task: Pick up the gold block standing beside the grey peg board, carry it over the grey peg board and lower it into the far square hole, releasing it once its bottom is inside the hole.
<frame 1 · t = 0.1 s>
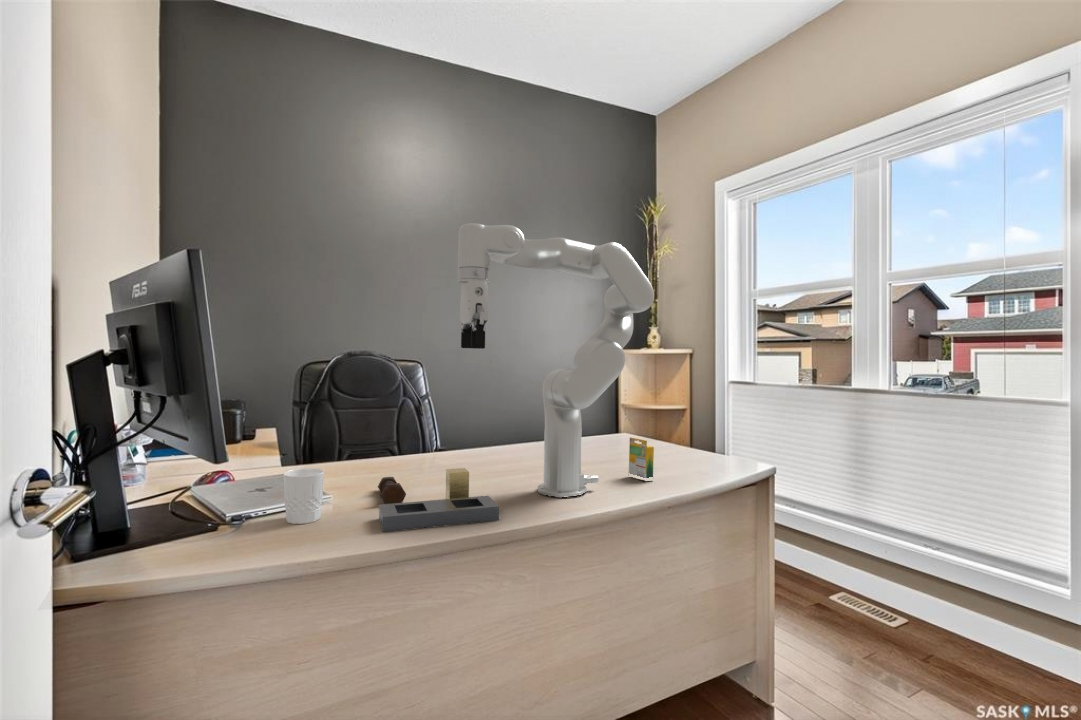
hand: (472, 348, 132), 37 cm above the table, tool pointing down, fingers open, 9 cm apart
gold block: (456, 504, 129), on the table
crayon box: (640, 479, 157), on the table
grey peg board: (439, 519, 117), on the table
white cup: (303, 520, 116), on the table
bolt: (390, 499, 134), on the table
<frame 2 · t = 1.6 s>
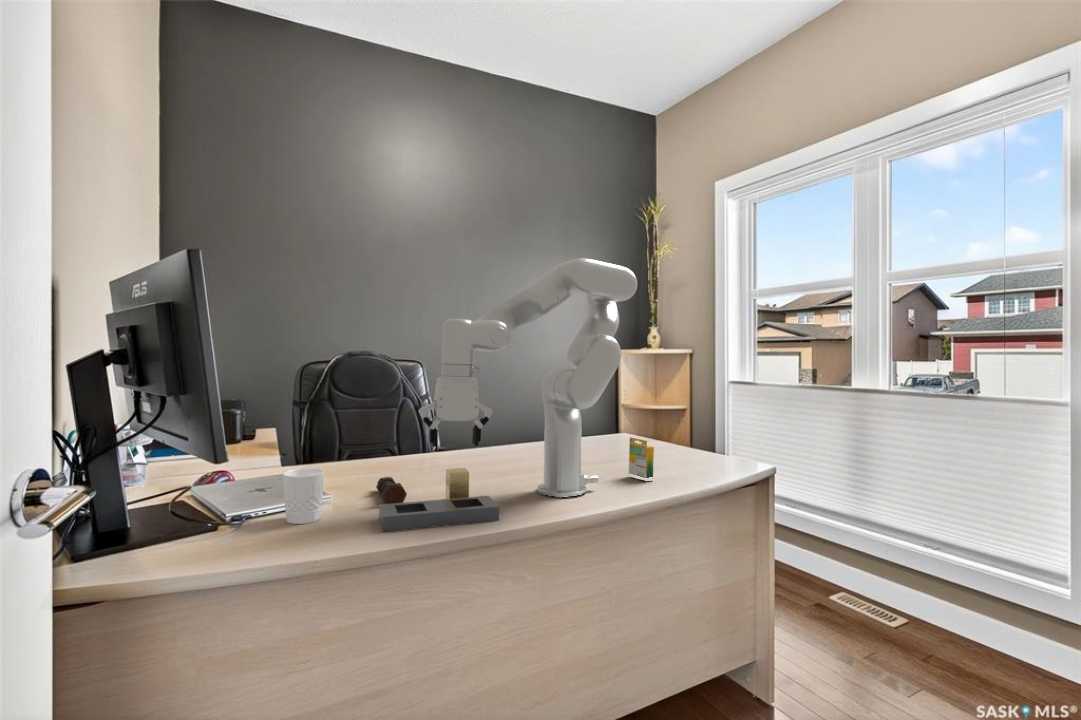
hand: (455, 445, 128), 14 cm above the table, tool pointing down, fingers open, 9 cm apart
nothing on the table moved.
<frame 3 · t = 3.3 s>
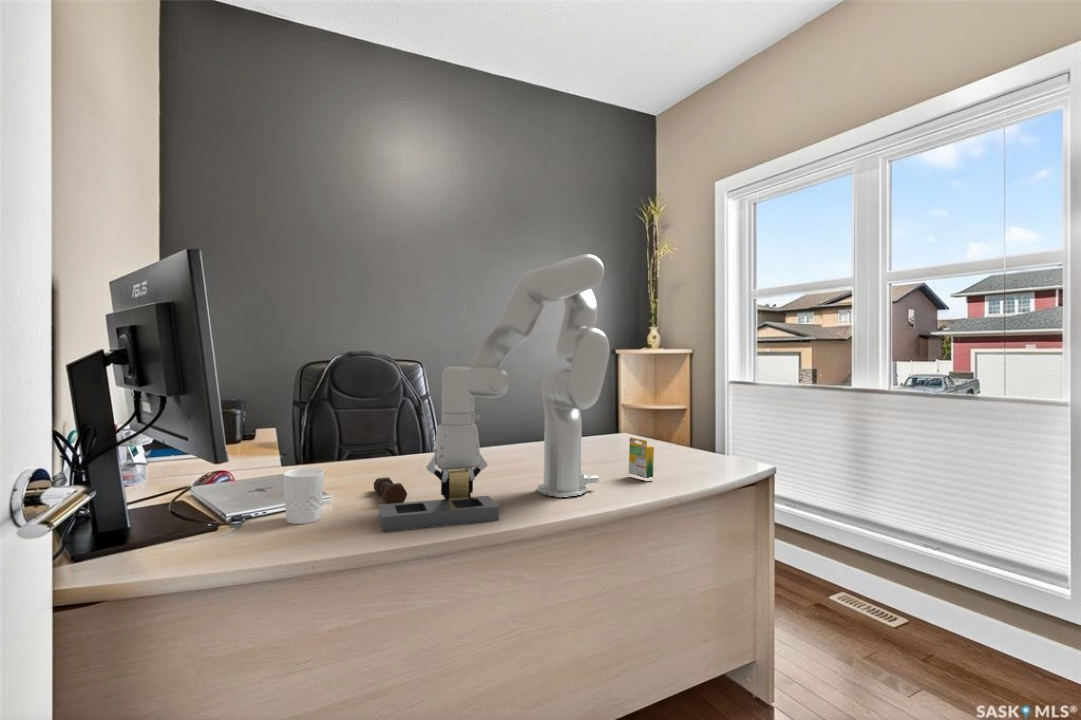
hand: (456, 496, 129), 2 cm above the table, tool pointing down, fingers closed on gold block, 4 cm apart
gold block: (456, 504, 129), on the table, touching gripper
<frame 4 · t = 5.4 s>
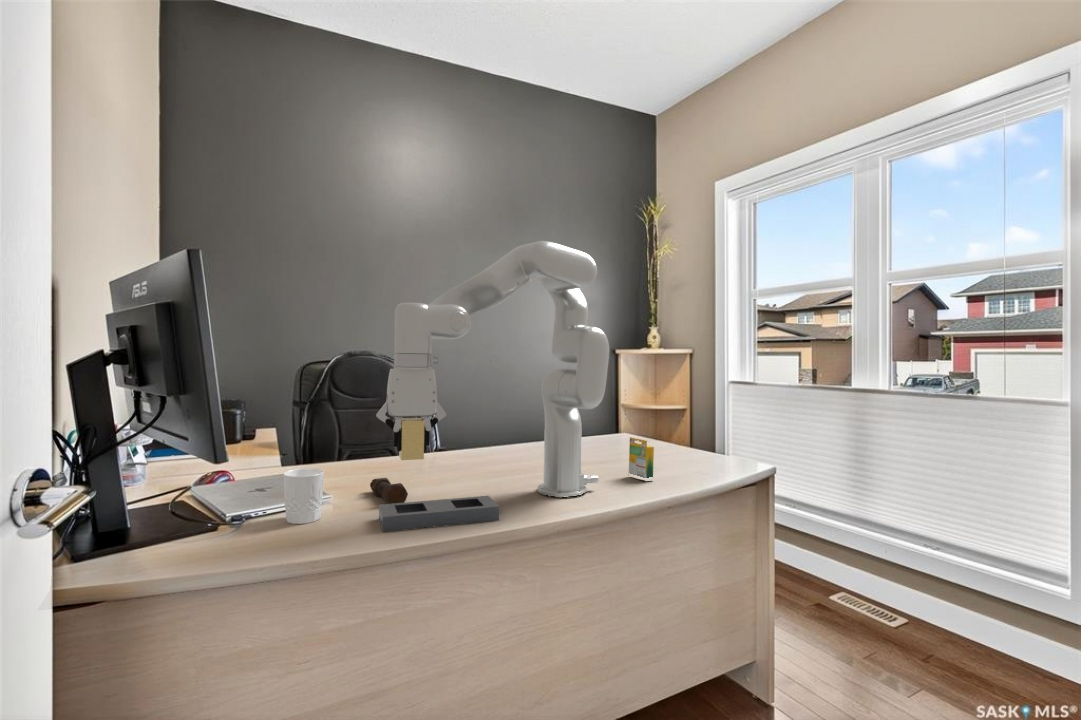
hand: (411, 448, 115), 15 cm above the table, tool pointing down, fingers closed on gold block, 4 cm apart
gold block: (411, 457, 115), point 14 cm above the table, touching gripper
when the fingers open (4 cm above the table, at t = 7.5 s): gold block drops 2 cm, resting in grey peg board.
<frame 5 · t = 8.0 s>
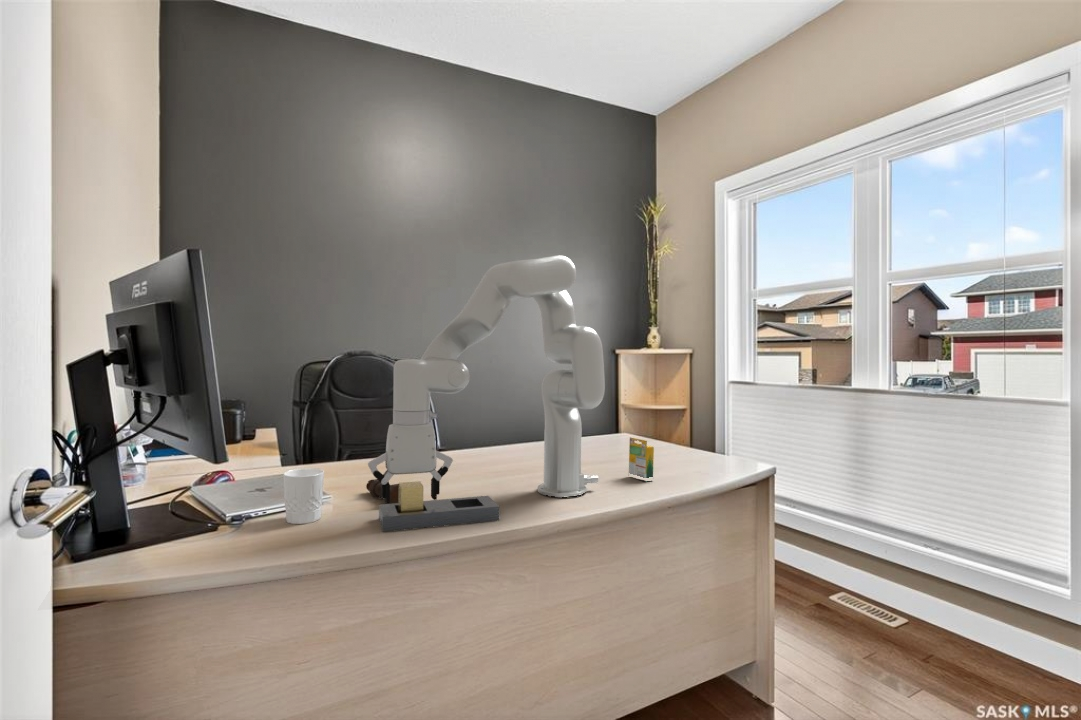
hand: (410, 500, 115), 5 cm above the table, tool pointing down, fingers open, 9 cm apart
gold block: (410, 522, 115), resting in grey peg board
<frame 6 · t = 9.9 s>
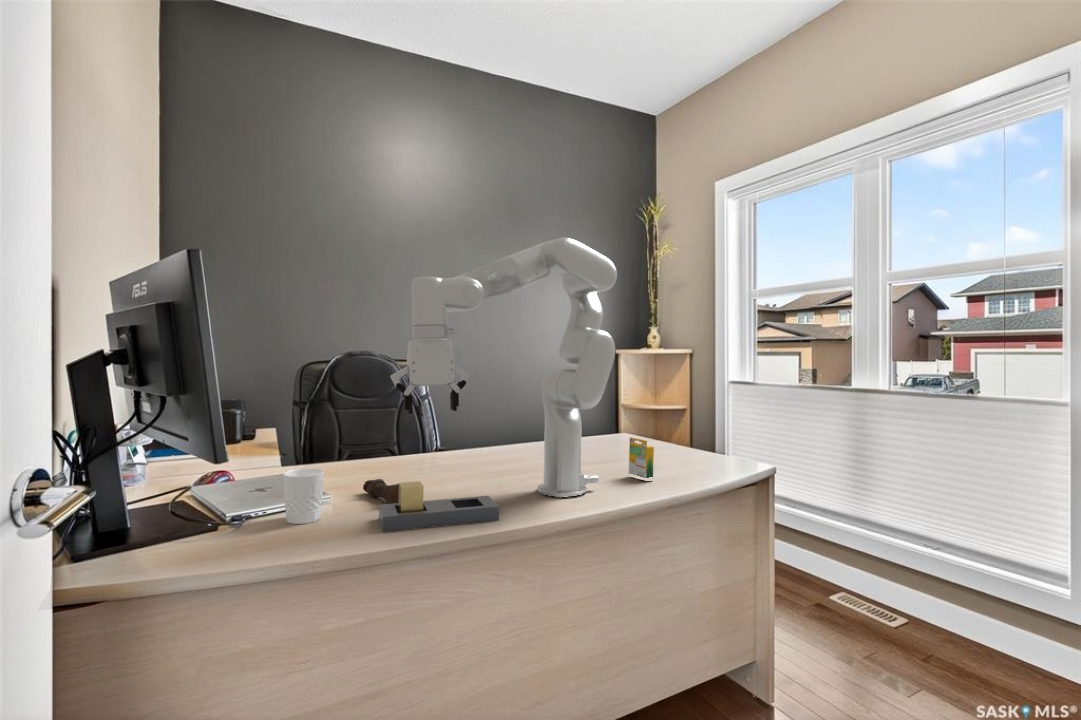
hand: (432, 411, 121), 23 cm above the table, tool pointing down, fingers open, 9 cm apart
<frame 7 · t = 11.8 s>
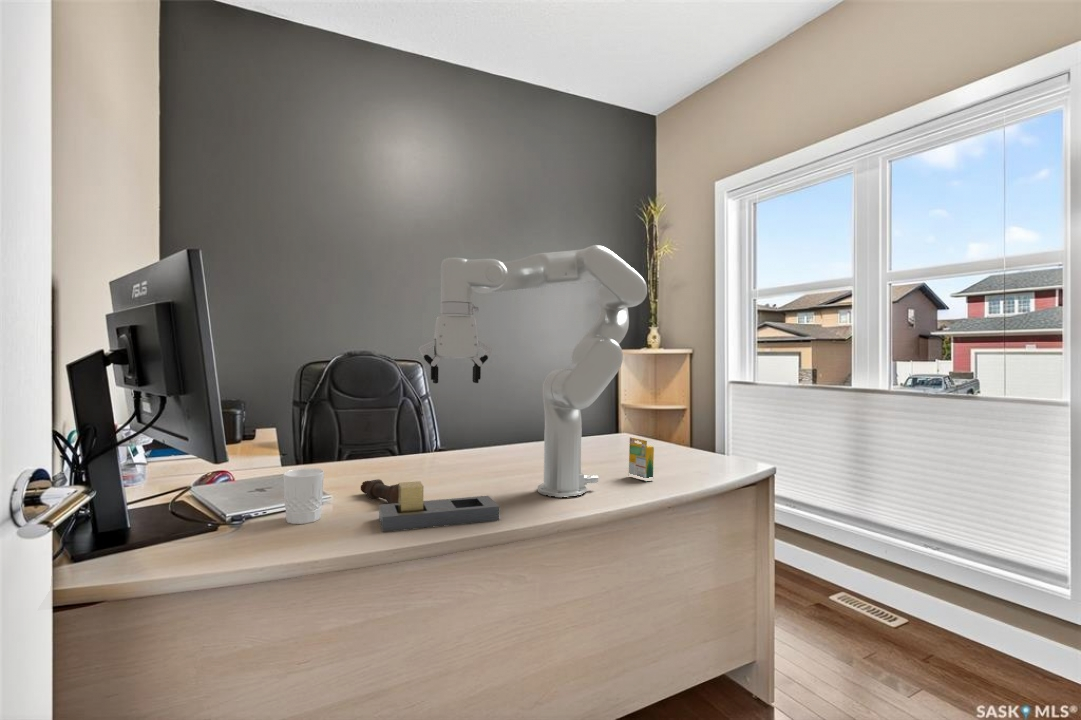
hand: (455, 382, 131), 28 cm above the table, tool pointing down, fingers open, 9 cm apart
at the end: gold block 0.1 cm from the target spot on the grey peg board, point 0.0 cm above the grey peg board's base; gold block tilted 0°; the gripper is holding nothing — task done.
